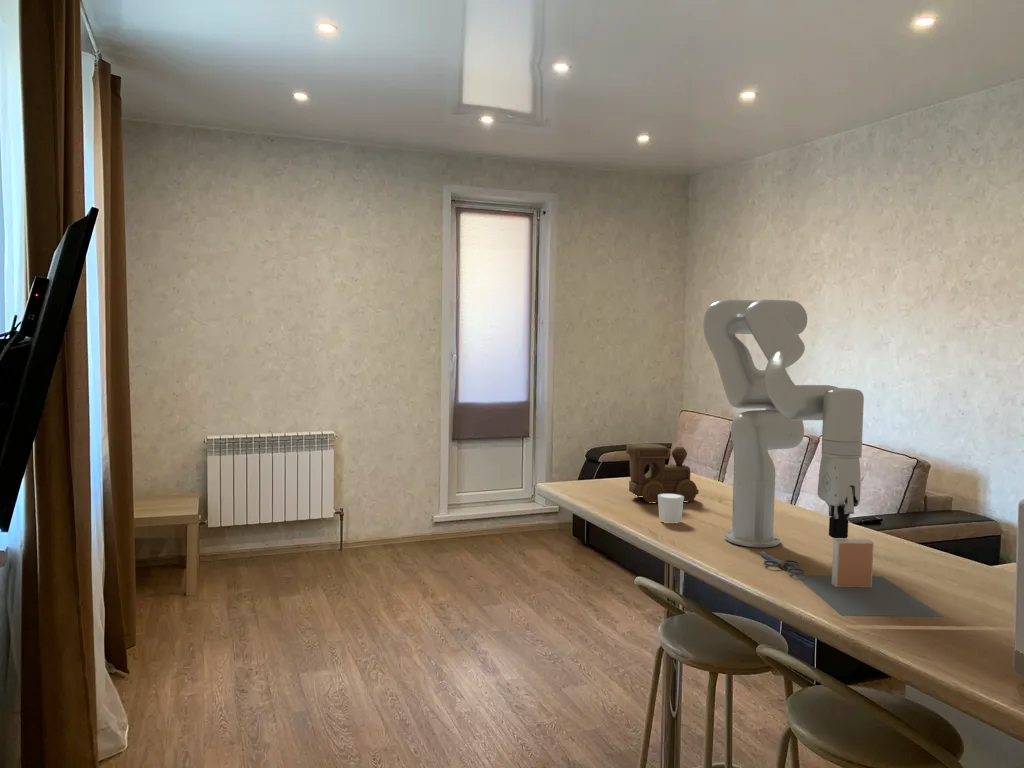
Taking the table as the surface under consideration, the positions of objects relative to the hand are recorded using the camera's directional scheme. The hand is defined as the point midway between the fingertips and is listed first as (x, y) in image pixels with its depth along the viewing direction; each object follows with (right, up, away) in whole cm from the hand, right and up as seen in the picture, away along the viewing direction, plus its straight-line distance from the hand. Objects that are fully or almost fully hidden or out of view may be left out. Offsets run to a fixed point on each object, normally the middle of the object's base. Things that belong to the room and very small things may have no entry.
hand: (838, 537), depth 153 cm
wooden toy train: (-22, -4, +71) cm, 74 cm away
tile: (0, -8, -6) cm, 10 cm away
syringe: (-10, -8, +7) cm, 14 cm away
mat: (0, -9, -11) cm, 14 cm away
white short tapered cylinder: (-25, -5, +45) cm, 51 cm away
